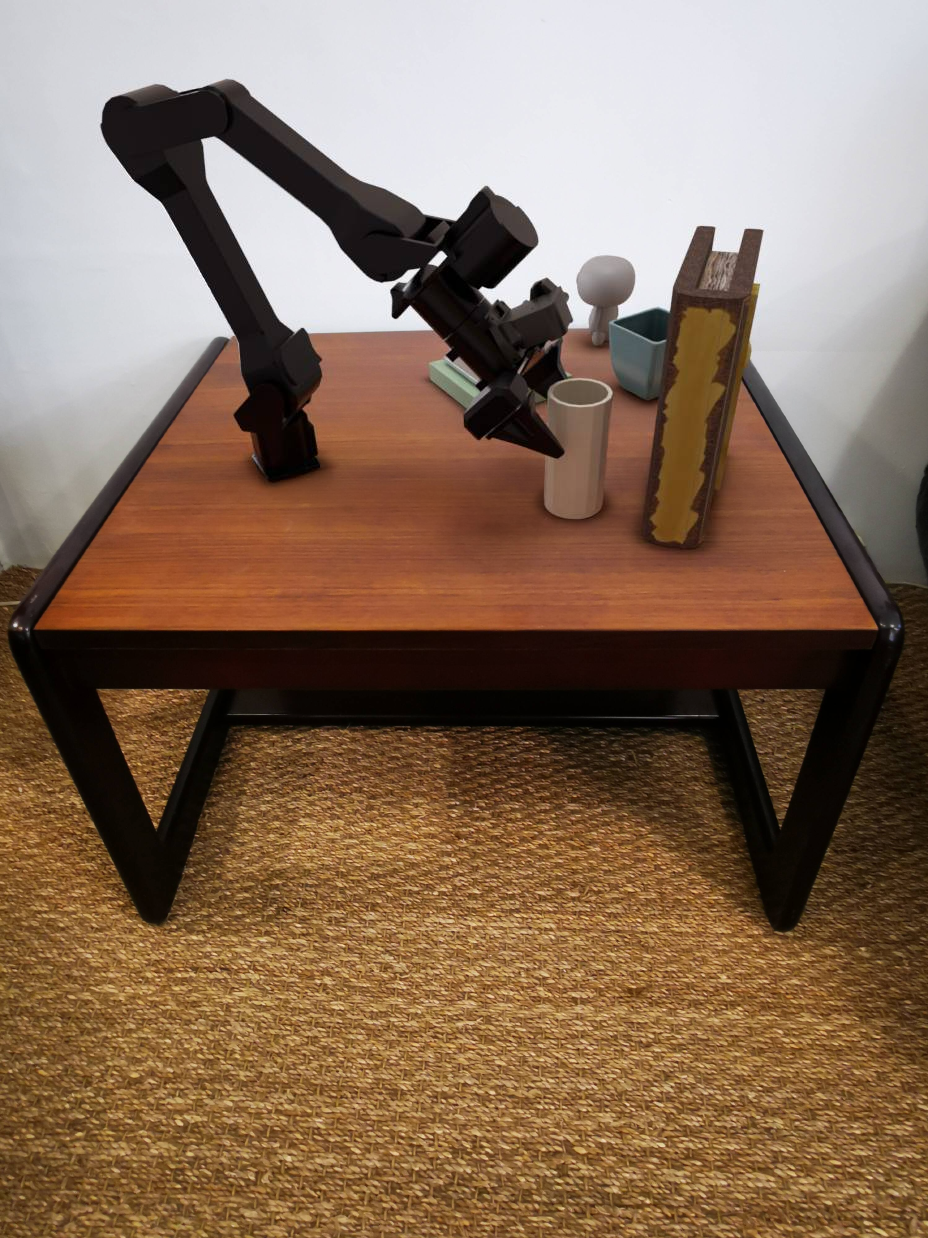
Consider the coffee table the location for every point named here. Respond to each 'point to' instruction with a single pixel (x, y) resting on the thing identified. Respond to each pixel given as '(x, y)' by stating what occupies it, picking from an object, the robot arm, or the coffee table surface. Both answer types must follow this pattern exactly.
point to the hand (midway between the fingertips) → (570, 433)
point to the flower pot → (639, 350)
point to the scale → (460, 383)
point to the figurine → (604, 291)
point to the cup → (577, 447)
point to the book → (699, 385)
